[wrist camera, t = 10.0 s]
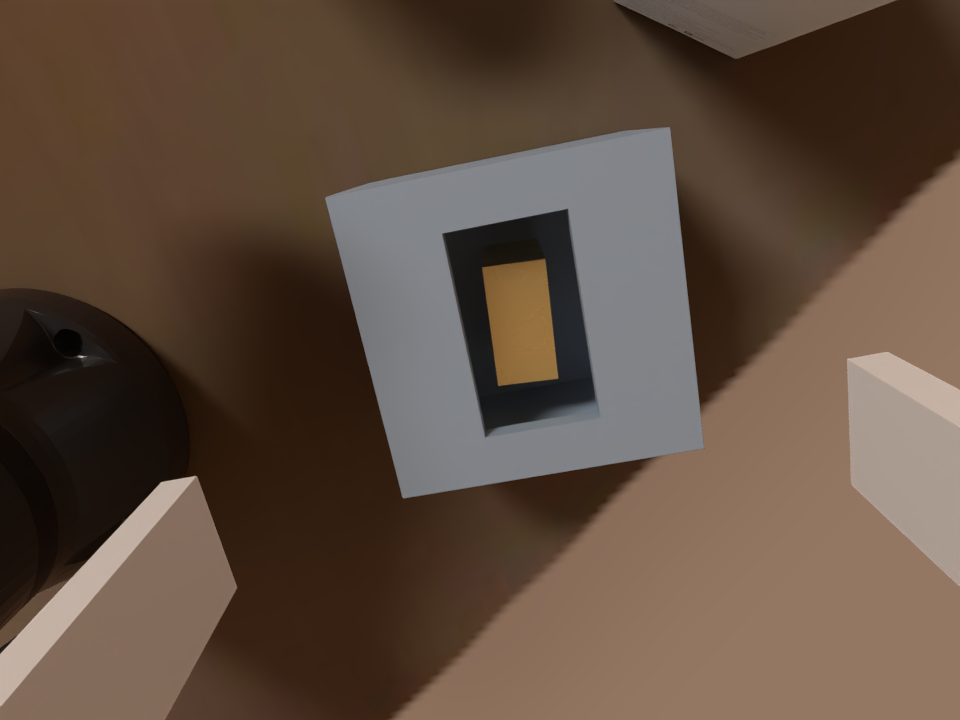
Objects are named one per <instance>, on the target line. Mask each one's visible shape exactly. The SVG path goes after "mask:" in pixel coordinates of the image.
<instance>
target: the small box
mask: <svg viewBox="0 0 960 720" xmlns="http://www.w3.org/2000/svg"><path fill="white" fill-rule="evenodd" d="M613 1H614V2H616V3H618V4H620V5H623V6H625V7H627V8H629V9H631V10H633V11H636V12H638V13H640V14H642V15H644V16H646V17H648V18H650V19H652V20H655V21H657V22H659V23H661V24H663V25H665V26H668V27H670V28H672V29H674V30H676V31H678V32H680V33H682V34H685V35H687V36H689V37H691V38H693V39H695V40H697V41H699V42H701V43H703V44H705V45H707V46H709V47H711V48H713V49H716V50H718V51H720V52H722V53H724V54H726V55H728V56H730V57H732V58H735V59H739V58H741V57H744V56H746V55H749V54H752V53H754V52H757V51H760V50H763V49H766V48H769V47H772V46H775V45H777V44H780V43H783V42H786V41H788V40H791V39H793V38H796V37H798V36H801V35H804V34H807V33H810V32H813V31H815V30H818V29H820V28H823V27H826V26H828V25H831V24H834V23H836V22H839V21H842V20H845V19H848V18H850V17H853V16H856V15H858V14H861V13H863V12H866V11H869V10H872V9H875V8H877V7H880V6H883V5H886V4H888V3H891V2H894V1H897V0H613Z"/></svg>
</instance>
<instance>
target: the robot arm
mask: <svg viewBox="0 0 960 720" xmlns="http://www.w3.org/2000/svg"><path fill="white" fill-rule="evenodd" d="M847 371H848V401H849V432H850V463H851V485H852V486H853V487H854V488H855V489H857V491H858V492H859V493H861V494H862V495H863V496H864V497H865V498H866V499H867V500H868V501H869V502H870V503H871V504H872V505H873V506H874V507H875V508H876V509H877V510H879V511H880V512H881V513H882V514H883V515H884V516H885V517H886V518H887V519H888V520H889V521H890V522H891V523H892V524H893V525H895V526H896V527H897V528H898V529H899V530H900V531H901V532H902V533H903V534H904V535H905V536H906V537H907V538H908V539H910V541H911V542H913V543H914V544H915V545H916V546H917V547H918V548H919V549H920V550H921V551H922V552H923V553H924V554H925V555H926V556H928V557H929V558H930V559H931V560H932V561H933V562H934V563H935V564H936V565H937V566H938V567H939V568H940V569H941V570H942V571H943V572H945V573H946V574H947V575H948V576H949V577H950V578H951V579H952V580H953V581H954V582H955V583H956V584H957V585H958V586H959V587H960V390H959V389H957V388H955V387H953V386H951V385H949V384H948V383H945V382H944V381H942V380H940V379H938V378H936V377H934V376H932V375H931V374H929V373H927V372H925V371H923V370H921V369H919V368H917V367H915V366H914V365H912V364H910V363H908V362H906V361H904V360H902V359H900V358H898V357H896V356H895V355H893V354H891V353H889V352H884V353H878V354H873V355H867V356H862V357H856V358H851V359H847ZM188 453H189V439H188V429H187V423H186V418H185V414H184V410H183V407H182V404H181V401H180V399H179V396H178V394H177V392H176V389H175V387H174V385H173V383H172V381H171V380H170V378H169V376H168V374H167V373H166V371H165V370H164V368H163V367H162V365H161V364H160V363H159V361H158V360H157V359H156V357H155V356H154V355H153V354H152V352H151V351H150V350H149V349H148V348H147V347H146V346H145V345H144V344H143V343H142V342H141V341H140V340H139V339H138V338H137V337H136V336H135V335H134V334H133V333H132V332H131V331H129V330H128V329H127V328H126V327H124V326H123V325H122V324H120V323H119V322H117V321H116V320H115V319H113V318H112V317H110V316H108V315H107V314H105V313H103V312H102V311H100V310H98V309H96V308H94V307H92V306H90V305H88V304H86V303H83V302H81V301H79V300H76V299H73V298H71V297H68V296H64V295H61V294H57V293H53V292H48V291H43V290H36V289H23V288H14V289H0V630H1V629H2V628H3V627H4V626H5V625H6V624H7V623H8V622H9V621H10V620H11V619H12V618H13V617H14V616H15V615H16V614H17V612H18V611H19V610H21V609H22V608H23V607H24V606H25V605H26V604H27V603H28V602H29V601H30V600H31V599H32V598H33V597H34V596H35V595H36V594H37V593H39V592H41V591H44V590H46V589H48V588H50V587H52V586H54V585H56V584H59V583H61V582H63V581H65V580H67V579H69V578H71V577H72V578H71V579H70V580H69V581H68V582H67V583H66V584H65V585H64V587H63V588H62V589H61V590H60V591H59V592H58V593H57V594H56V595H55V596H54V597H53V598H52V599H51V600H50V601H49V603H48V604H47V605H46V606H45V607H44V608H43V609H42V610H41V611H40V612H39V613H38V614H37V615H36V616H35V617H34V619H33V620H32V621H31V622H30V623H29V624H28V625H27V626H26V627H25V628H24V629H23V630H22V631H21V632H20V633H19V635H17V636H16V637H15V638H13V639H12V640H10V641H9V642H8V643H6V644H5V645H4V646H2V647H1V648H0V720H165V719H166V717H167V715H168V713H169V712H170V710H171V708H172V706H173V704H174V702H175V701H176V699H177V697H178V695H179V693H180V691H181V690H182V688H183V686H184V684H185V682H186V680H187V679H188V677H189V675H190V673H191V671H192V670H193V668H194V666H195V664H196V662H197V660H198V659H199V657H200V655H201V653H202V651H203V649H204V648H205V646H206V644H207V642H208V640H209V638H210V637H211V635H212V633H213V631H214V629H215V628H216V626H217V624H218V622H219V620H220V618H221V617H222V615H223V613H224V611H225V609H226V607H227V606H228V604H229V602H230V600H231V598H232V597H233V595H234V593H235V591H236V589H237V585H236V583H235V580H234V577H233V574H232V572H231V569H230V566H229V563H228V561H227V558H226V555H225V552H224V549H223V547H222V544H221V541H220V538H219V536H218V533H217V530H216V527H215V524H214V522H213V519H212V516H211V513H210V511H209V508H208V505H207V502H206V500H205V497H204V494H203V491H202V488H201V486H200V483H199V480H198V477H197V476H193V477H187V478H184V476H185V472H186V468H187V462H188Z"/></svg>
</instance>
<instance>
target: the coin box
mask: <svg viewBox="0 0 960 720" xmlns="http://www.w3.org/2000/svg"><path fill="white" fill-rule="evenodd" d="M325 199H326V203H327V207H328V211H329V215H330V218H331V222H332V226H333V230H334V234H335V238H336V242H337V246H338V249H339V253H340V257H341V261H342V265H343V269H344V273H345V277H346V280H347V284H348V288H349V292H350V296H351V300H352V304H353V308H354V311H355V315H356V319H357V323H358V327H359V331H360V335H361V338H362V342H363V346H364V350H365V354H366V358H367V362H368V366H369V369H370V373H371V377H372V381H373V385H374V389H375V393H376V397H377V400H378V404H379V408H380V412H381V416H382V420H383V424H384V428H385V431H386V435H387V439H388V443H389V447H390V451H391V455H392V458H393V462H394V466H395V470H396V474H397V478H398V482H399V486H400V489H401V493H402V497H403V498H409V497H415V496H421V495H427V494H433V493H439V492H445V491H451V490H457V489H463V488H469V487H475V486H481V485H487V484H493V483H500V482H506V481H512V480H518V479H524V478H530V477H536V476H542V475H548V474H554V473H560V472H566V471H572V470H578V469H584V468H590V467H596V466H602V465H608V464H614V463H620V462H626V461H632V460H638V459H644V458H650V457H656V456H662V455H669V454H675V453H680V452H687V451H693V450H698V449H704V442H703V433H702V423H701V414H700V404H699V395H698V386H697V376H696V367H695V358H694V348H693V339H692V330H691V320H690V311H689V301H688V292H687V283H686V273H685V264H684V255H683V245H682V236H681V227H680V217H679V208H678V198H677V189H676V180H675V170H674V161H673V152H672V142H671V133H670V127H666V128H654V129H642V130H630V131H621V132H616V133H611V134H606V135H601V136H596V137H591V138H586V139H581V140H576V141H572V142H567V143H562V144H557V145H552V146H547V147H542V148H537V149H532V150H528V151H523V152H518V153H513V154H508V155H503V156H498V157H493V158H488V159H483V160H479V161H474V162H469V163H464V164H459V165H454V166H449V167H444V168H439V169H435V170H430V171H425V172H420V173H415V174H410V175H405V176H400V177H395V178H390V179H386V180H381V181H376V182H371V183H368V184H365V185H361V186H358V187H355V188H352V189H349V190H346V191H343V192H340V193H337V194H334V195H331V196H328V197H325ZM536 238H537V240H538V243H539V245H540V247H541V250H542V252H543V255H544V257H545V260H546V269H547V279H548V288H549V297H550V307H551V316H552V325H553V334H554V344H555V353H556V362H557V372H558V379H551V380H543V381H535V382H527V383H518V384H510V385H502V386H498V380H497V373H496V366H495V358H494V351H493V344H492V336H491V329H490V322H489V314H488V307H487V300H486V292H485V285H484V278H483V270H482V264H483V255H484V245H491V244H498V243H506V242H513V241H521V240H528V239H536Z"/></svg>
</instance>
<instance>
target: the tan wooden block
mask: <svg viewBox="0 0 960 720" xmlns="http://www.w3.org/2000/svg"><path fill="white" fill-rule="evenodd" d="M482 270H483V278H484V285H485V292H486V300H487V307H488V314H489V322H490V329H491V336H492V344H493V351H494V358H495V366H496V373H497V380H498V386H502V385H510V384H518V383H527V382H535V381H543V380H551V379H558V372H557V362H556V353H555V344H554V334H553V325H552V316H551V307H550V297H549V288H548V279H547V269H546V260H545V257H544V255H543V252H542V250H541V247H540V245H539V243H538V240H537V238H536V239H528V240H521V241H513V242H506V243H498V244H491V245H484V255H483V264H482Z"/></svg>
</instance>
